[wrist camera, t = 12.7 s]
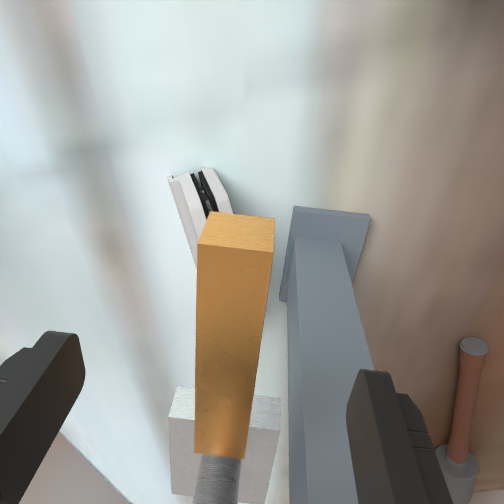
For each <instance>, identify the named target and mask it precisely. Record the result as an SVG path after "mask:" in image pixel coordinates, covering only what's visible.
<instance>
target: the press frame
mask: <svg viewBox="0 0 504 504" xmlns="http://www.w3.org/2000/svg"><path fill="white" fill-rule="evenodd" d="M370 220H371V219H370V217H369V215H368V214H361V213H352V212H343V211H334V210H326V209H317V208H308V207H299V206H294V208H293V214H292V220H291V226H290V233H289V239H288V245H287V251H286V257H285V264H284V270H283V276H282V282H281V288H280V295H279V300H280V301H287V328H288V413H289V498H290V504H358V497H357V491H356V484H355V478H354V472H353V465H352V459H351V452H350V446H349V439H348V433H347V426H346V408H347V403H348V400H349V397H350V394H351V391H352V388H353V385H354V382H355V379H356V377H357V374H358V371H359V370H360V369H367V370H374V367H373V363H372V360H371V356H370V352H369V348H368V344H367V340H366V337H365V333H364V329H363V325H362V321H361V318H360V314H359V310H358V306H357V302H356V299H355V295H354V291H353V287H352V283H353V279H354V276H355V272H356V269H357V265H358V262H359V258H360V255H361V251H362V248H363V244H364V241H365V237H366V234H367V230H368V227H369V223H370Z"/></svg>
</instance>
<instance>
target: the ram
mask: <svg viewBox="0 0 504 504" xmlns="http://www.w3.org/2000/svg"><path fill="white" fill-rule="evenodd" d="M274 232H275V218H266V217H257V216H249V215H240V214H231V213H222V212H213V211H210V213H209V215H208V218H207V221H206V223H205V226H204V228H203V231H202V233H201V236H200V238H199V241H198V243H197V297H196V363H195V388H189V387H180V386H177V389H176V393H175V396H174V400H173V403H172V406H171V410H170V413H169V416H168V420H169V443H170V466H171V489H172V494H178V495H186V496H194V499H193V504H237V503H238V502H242V503H250V504H264V503H265V499H266V494H267V489H268V485H269V480H270V476H271V471H272V466H273V462H274V457H275V452H276V448H277V443H278V438H279V434H280V399H279V398H271V397H263V396H255V395H254V388H255V381H256V374H257V366H258V359H259V352H260V345H261V338H262V331H263V324H264V317H265V310H266V303H267V295H268V288H269V281H270V274H271V267H272V260H273V253H274Z"/></svg>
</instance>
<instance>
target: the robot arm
mask: <svg viewBox="0 0 504 504" xmlns="http://www.w3.org/2000/svg"><path fill="white" fill-rule="evenodd" d="M84 380H85V366H84V361H83V357H82V352H81V347H80V342H79V338H78V336H77V335H76V334H73V333H65V332H56V331H47V332H45V333H44V334H43V335H42V336H41V337H40V339H39V340H38V341H37V342H36V344H35V345H34V346H33V348H25V347H24V348H22V349H21V350H20V351H18V352H17V353H15V354H14V355H12V356H11V357H10V358H8V359H7V360H5V361H4V362H3V364H2V365H1V366H0V504H19V502H20V500H21V498H22V496H23V495H24V493H25V491H26V489H27V487H28V486H29V484H30V482H31V480H32V478H33V477H34V475H35V473H36V471H37V469H38V468H39V466H40V464H41V462H42V460H43V458H44V457H45V455H46V453H47V451H48V450H49V448H50V446H51V444H52V442H53V440H54V439H55V437H56V435H57V433H58V432H59V430H60V428H61V426H62V424H63V423H64V421H65V419H66V417H67V415H68V414H69V412H70V410H71V408H72V406H73V405H74V403H75V401H76V399H77V397H78V396H79V394H80V392H81V390H82V387H83V384H84ZM346 426H347V433H348V439H349V446H350V452H351V459H352V465H353V472H354V478H355V484H356V491H357V497H358V504H453V501H452V499H451V496H450V493H449V490H448V487H447V484H446V482H445V479H444V476H443V473H442V470H441V467H440V465H439V462H438V459H437V456H436V453H434V448H433V445H432V442H431V439H430V436H428V431H427V428H426V425H425V422H424V419H423V417H422V414H421V412H420V410H419V409H418V408H417V406H416V405H415V404H414V403H413V401H412V400H411V399H410V397H409V396H408V395H407V394H399V393H396V392H395V388H394V385H393V382H392V378H391V376H390V374H389V373H388V372H383V371H375V370H367V369H360V370H359V371H358V374H357V377H356V379H355V382H354V385H353V388H352V391H351V394H350V397H349V400H348V403H347V408H346Z"/></svg>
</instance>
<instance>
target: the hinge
mask: <svg viewBox="0 0 504 504" xmlns="http://www.w3.org/2000/svg"><path fill="white" fill-rule="evenodd" d="M201 170H202V171H200V172H198V174H199V177H200V181H201V185H202V188H203V190H202V191H201V189H200V187H199V185H198V182H197V180H196V178H195V175H194V173H193V174H189V171H187V172H185V173H183V174H181V175H179V176H177V177H175V178H172V175H170V176H168V177H167V178H168V182H169V185H170V188H171V191H172V194H173V197H174V200H175V203H176V206H177V210H178V213H179V216H180V219H181V222H182V225H183V228H184V231H185V234H186V237H187V240H188V243H189V246H190V249H191V253H192V256H193V259H194V262H195V265H196V268H197V243H198V241H199V238H200V236H201V233H202V231H203V228H204V226H205V223H206V221H207V218H208V215H209V213H210V211H213V212H222V213H231V214H233V211H232V208H231V204H230V201H229V198H228V195H227V193H226V191H225V189H224V187H223V185H222V184H221V182H220V180H219V178H218V176H217V174H216V173H215V171H214V169H213V167H201Z"/></svg>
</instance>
